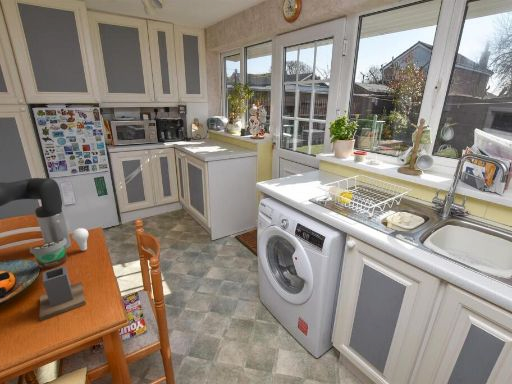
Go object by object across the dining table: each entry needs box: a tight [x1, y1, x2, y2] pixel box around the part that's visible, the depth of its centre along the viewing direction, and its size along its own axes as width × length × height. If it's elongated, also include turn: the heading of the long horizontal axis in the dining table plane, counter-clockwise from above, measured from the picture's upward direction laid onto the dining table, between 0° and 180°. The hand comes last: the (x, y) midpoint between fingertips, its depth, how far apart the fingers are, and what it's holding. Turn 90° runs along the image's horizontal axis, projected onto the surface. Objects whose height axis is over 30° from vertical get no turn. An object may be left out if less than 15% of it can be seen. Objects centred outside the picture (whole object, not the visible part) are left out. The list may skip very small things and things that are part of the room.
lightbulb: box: [71, 227, 89, 252], centre depth 118 cm, size 6×6×11 cm
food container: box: [29, 238, 68, 270], centre depth 108 cm, size 12×6×10 cm, turn 131°
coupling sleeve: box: [42, 265, 73, 307], centre depth 88 cm, size 6×6×10 cm
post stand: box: [39, 281, 87, 322], centre depth 89 cm, size 12×12×8 cm
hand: (7, 282), depth 80 cm, fingers open, 8 cm apart
